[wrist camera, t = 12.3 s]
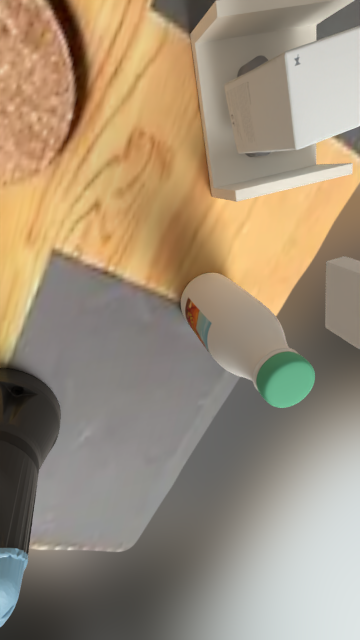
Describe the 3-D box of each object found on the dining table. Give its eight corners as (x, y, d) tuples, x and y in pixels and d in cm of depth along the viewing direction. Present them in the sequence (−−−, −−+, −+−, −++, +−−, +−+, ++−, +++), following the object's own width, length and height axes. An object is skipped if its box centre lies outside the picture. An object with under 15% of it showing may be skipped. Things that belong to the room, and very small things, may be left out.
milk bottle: (186, 267, 41) (263, 338, 23) (241, 275, 43) (348, 345, 26) (173, 323, 44) (234, 425, 26) (226, 328, 46) (314, 425, 28)
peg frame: (211, 196, 38) (236, 201, 32) (190, 34, 32) (215, 0, 26) (310, 173, 40) (352, 173, 34) (310, 16, 34) (360, -20, 28)
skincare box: (237, 158, 34) (296, 152, 24) (222, 84, 31) (282, 46, 21) (327, 124, 35) (417, 106, 25) (321, 49, 32) (419, -2, 22)
